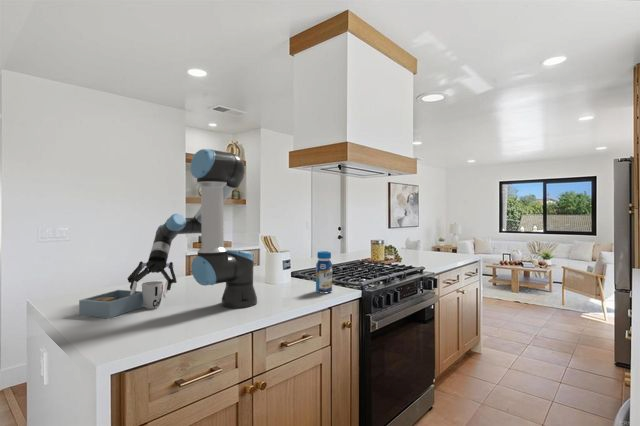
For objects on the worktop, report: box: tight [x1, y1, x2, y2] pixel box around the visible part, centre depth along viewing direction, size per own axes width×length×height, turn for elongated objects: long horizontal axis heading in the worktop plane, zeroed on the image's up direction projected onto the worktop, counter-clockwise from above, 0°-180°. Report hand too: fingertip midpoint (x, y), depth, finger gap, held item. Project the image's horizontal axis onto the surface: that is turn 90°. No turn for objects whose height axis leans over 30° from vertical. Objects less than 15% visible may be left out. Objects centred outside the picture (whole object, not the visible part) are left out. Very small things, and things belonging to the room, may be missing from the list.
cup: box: [141, 280, 164, 310], centre depth 151 cm, size 8×8×10 cm
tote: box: [78, 289, 145, 319], centre depth 146 cm, size 14×19×6 cm
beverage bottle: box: [315, 250, 334, 294], centre depth 181 cm, size 8×8×20 cm
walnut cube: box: [94, 297, 115, 302], centre depth 141 cm, size 5×5×5 cm
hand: (148, 296), depth 149 cm, fingers open, 12 cm apart
